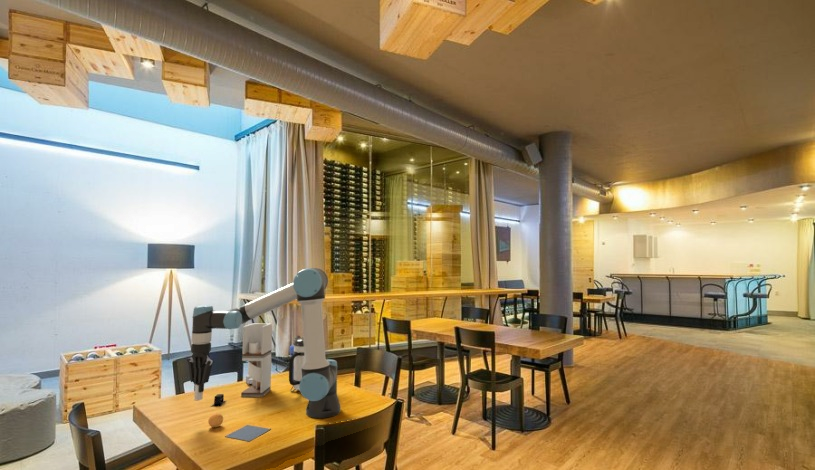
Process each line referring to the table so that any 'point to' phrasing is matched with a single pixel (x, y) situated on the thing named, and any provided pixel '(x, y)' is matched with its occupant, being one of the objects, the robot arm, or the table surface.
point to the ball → (215, 420)
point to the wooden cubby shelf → (258, 357)
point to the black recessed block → (218, 400)
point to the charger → (249, 380)
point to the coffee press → (296, 364)
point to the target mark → (247, 433)
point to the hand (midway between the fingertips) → (198, 399)
